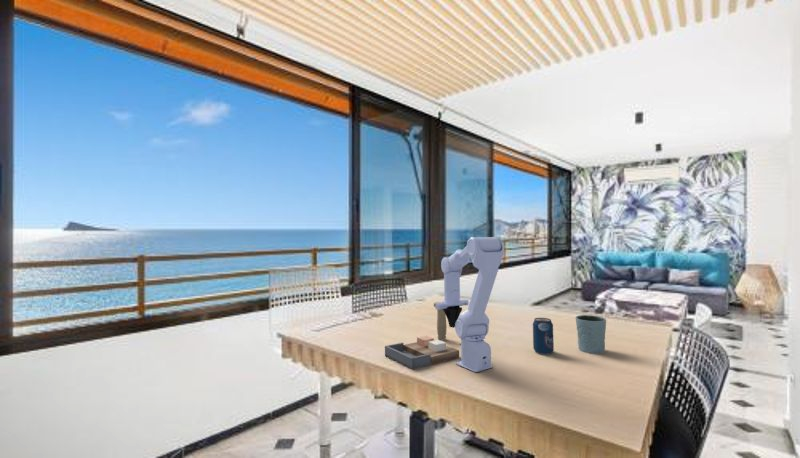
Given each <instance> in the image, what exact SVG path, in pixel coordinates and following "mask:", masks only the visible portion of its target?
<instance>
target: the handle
mask: <svg viewBox="0 0 800 458" xmlns="http://www.w3.org/2000/svg"><path fill="white" fill-rule="evenodd" d="M441 302H442V301H441ZM441 302H439V301H438V302H437V301H435V302H433V307H434V308H436V306H435V304H437V303H441ZM436 310H437V313H436V314H437V316H436V318H437V320H436V330H437V331H436V332H437V340H440V341H445V340H446V339H447V316H446V314H445V312H444V311H443V309H441V310H438V309H436Z"/></svg>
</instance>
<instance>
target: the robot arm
mask: <svg viewBox="0 0 800 458" xmlns="http://www.w3.org/2000/svg"><path fill="white" fill-rule="evenodd" d="M504 254H505V247H504V243H503V240H502V238H501V237H500V236H491V237H490V236H488V237H487V236H485V237H482V236H479V237H478V236H477V237H475V236H471V237H470V238H469V239H468V240H467V241H466V246H465V247H464V248H463V249H460V248H459V249H456V250H455V252H454V253H453V254H451V255H450V256H449V257H444V256H443V258H442V259H441V262H440V267H441V271H442V273H443V280H444V281H443V283H444V288H443V289H444V290H443V291H444V293H443V294H444V295H443V296H444V300H443V301H441V303H437V304H435V306H436V307H435V310H437V309H438V310H441V309H443V311H444V312H445V314H446V320H447V322H448V326H449V328H452V329H453V328H454V329H455V330H454V331H455V333H456V335H457V336H458V337H459V339H460V348H461V349H460V350H461V351H460V352H461V353H460V355H461V356H460V359H461V360H460V361H457V362H455V364H456V365H457V366H460V367H463V368H465V369H467V370H470V371H472V372H474V373H478V372H481V371H485V370H487V369H488V370H489V369H491V368H493V367H494V366H493V365H492V352H491V351H492V348H491V346H490V344H489V342H486V341H485V339H486V336H488V333H489V329H490V328H489V325H490V318H489V316H488V315H487V314H486V310H487V307H488V306H487V305H488V303H489V300H490V297H491V295H492V291H493V287H494V286H495V281H496V278H497V274H498V272H499V267H500V266H501V263H502V260H503V257H504ZM470 260H471V262H472V265H473V267H474V268H476V269H477V270H478V273H477V276H476V280H475V283H474V286H473V290H472V293H471V297H470V302H469V299H461V288H460V287H461V284H460V283H461V282H460V281H461V279H460V278H462V272H463V268H464V267H465V266H467V264H469V262H470ZM462 306H468V307H467V309H466V310H464V311H463V307H462ZM462 311H463V312H462Z"/></svg>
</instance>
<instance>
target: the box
mask: <svg viewBox="0 0 800 458" xmlns="http://www.w3.org/2000/svg"><path fill="white" fill-rule="evenodd" d="M404 345H405V344H404V342H398V343H393V344H388V345H385V346H384V356H385V357H387V358H389V359H390V360H393V361H395V363H399V364H400V365H402V366H404V367H406V368H407V369H410V370H415V369H421V368H423V367H427V366H431V365H432V366H433V364H432V363H431V356H430V354H425V355H421V356H415V355H413V354H411V353H409V352H406V351H404Z"/></svg>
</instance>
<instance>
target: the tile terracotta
mask: <svg viewBox="0 0 800 458" xmlns="http://www.w3.org/2000/svg"><path fill="white" fill-rule="evenodd" d="M434 339H435V337H432V336H428V335H423V336H418V337H416V342H417V344H418V345H420V346H423V347H427V346H428V342H430V341H435V340H434Z"/></svg>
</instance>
